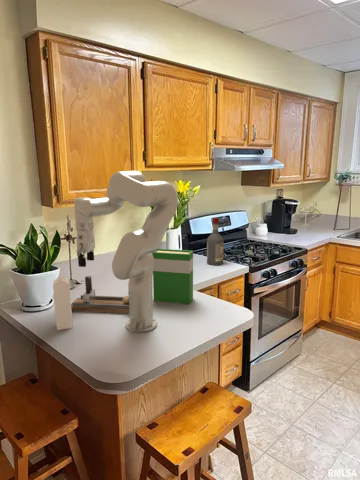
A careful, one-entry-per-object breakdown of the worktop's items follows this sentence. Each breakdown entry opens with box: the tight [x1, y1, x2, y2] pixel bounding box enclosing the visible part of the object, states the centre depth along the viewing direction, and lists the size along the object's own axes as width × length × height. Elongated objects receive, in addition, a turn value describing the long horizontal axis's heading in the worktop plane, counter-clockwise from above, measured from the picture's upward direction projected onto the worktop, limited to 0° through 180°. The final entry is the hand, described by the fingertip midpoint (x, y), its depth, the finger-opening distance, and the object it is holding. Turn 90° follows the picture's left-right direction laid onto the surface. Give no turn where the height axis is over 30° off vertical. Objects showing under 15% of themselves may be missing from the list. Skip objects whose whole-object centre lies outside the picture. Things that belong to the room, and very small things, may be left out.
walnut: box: [122, 295, 129, 305], centre depth 161 cm, size 4×4×4 cm
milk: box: [52, 273, 73, 331], centre depth 143 cm, size 6×6×22 cm
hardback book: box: [152, 248, 194, 305], centre depth 170 cm, size 18×7×24 cm, turn 76°
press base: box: [71, 294, 129, 314], centre depth 162 cm, size 10×32×8 cm, turn 83°
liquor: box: [206, 217, 225, 267], centre depth 229 cm, size 9×9×30 cm
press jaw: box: [82, 275, 97, 303], centre depth 163 cm, size 7×3×12 cm, turn 173°
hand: (86, 263), depth 160 cm, fingers open, 9 cm apart
